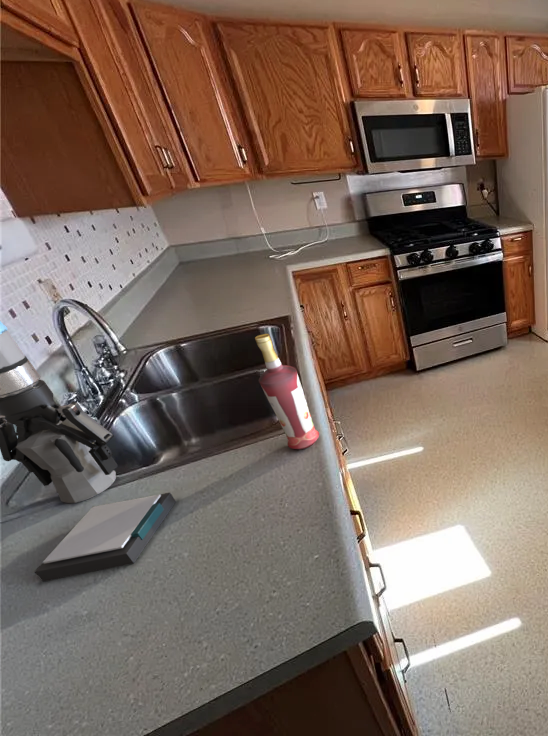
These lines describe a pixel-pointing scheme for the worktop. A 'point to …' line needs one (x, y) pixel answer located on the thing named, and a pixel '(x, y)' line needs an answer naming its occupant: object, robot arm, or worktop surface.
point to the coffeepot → (67, 465)
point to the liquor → (286, 397)
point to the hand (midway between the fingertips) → (82, 475)
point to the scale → (107, 537)
